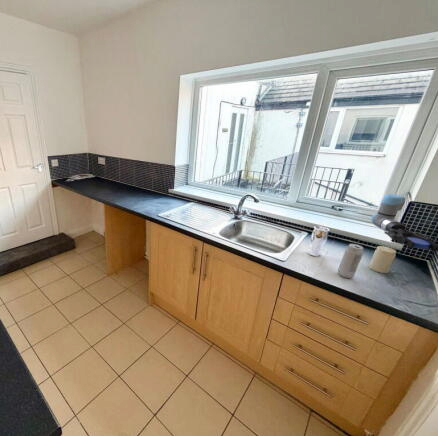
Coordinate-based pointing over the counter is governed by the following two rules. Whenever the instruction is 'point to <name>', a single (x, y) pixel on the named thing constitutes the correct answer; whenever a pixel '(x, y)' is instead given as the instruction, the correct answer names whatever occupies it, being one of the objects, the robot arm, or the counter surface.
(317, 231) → the beer glass
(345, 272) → the energy drink can
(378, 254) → the jam jar
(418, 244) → the jar lid
